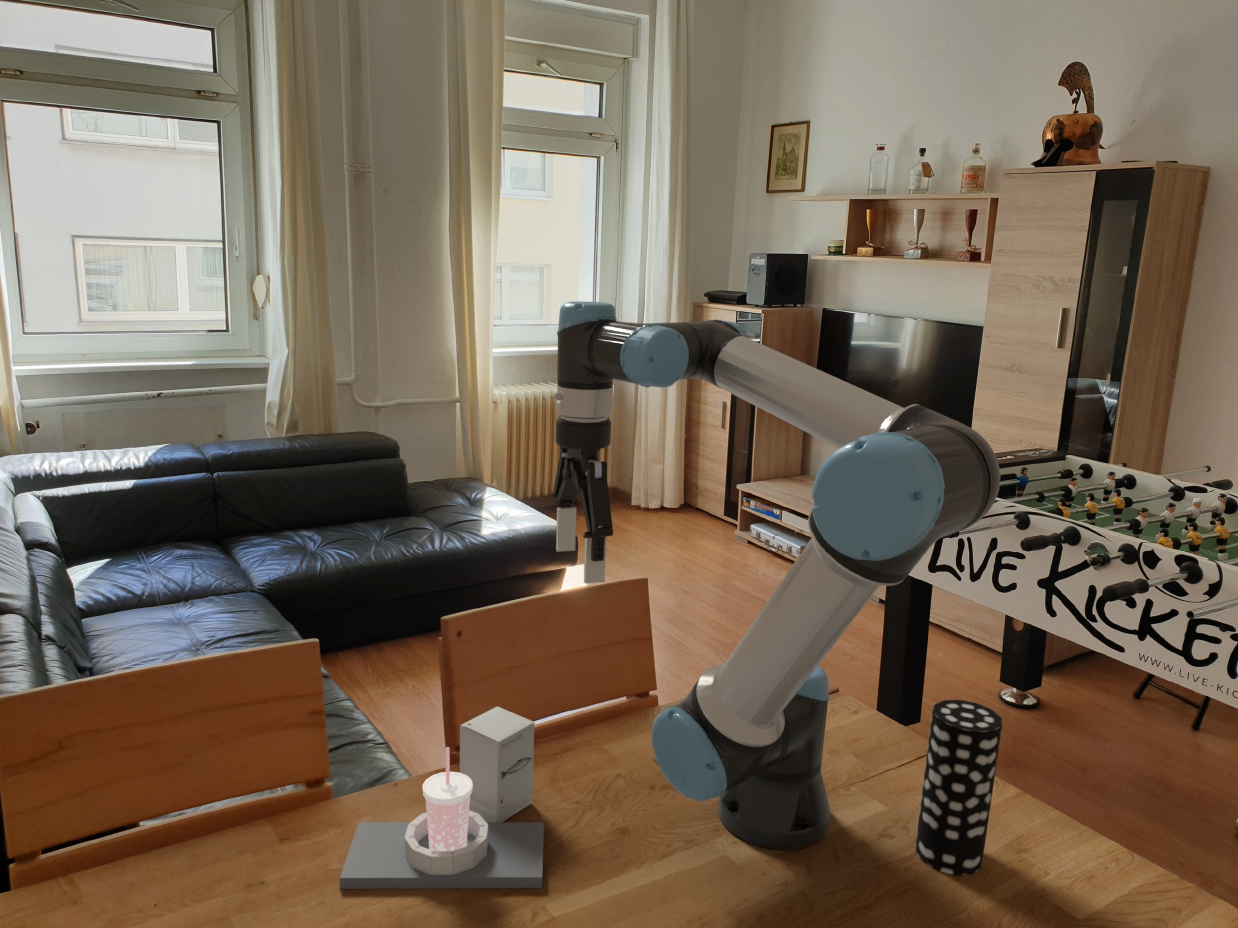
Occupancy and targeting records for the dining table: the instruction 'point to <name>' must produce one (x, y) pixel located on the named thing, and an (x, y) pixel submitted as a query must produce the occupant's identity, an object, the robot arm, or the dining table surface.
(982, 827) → the spotted tube
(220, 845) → the dining table surface
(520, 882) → the collar board
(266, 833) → the dining table surface
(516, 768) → the supplement box
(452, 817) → the beverage cup
